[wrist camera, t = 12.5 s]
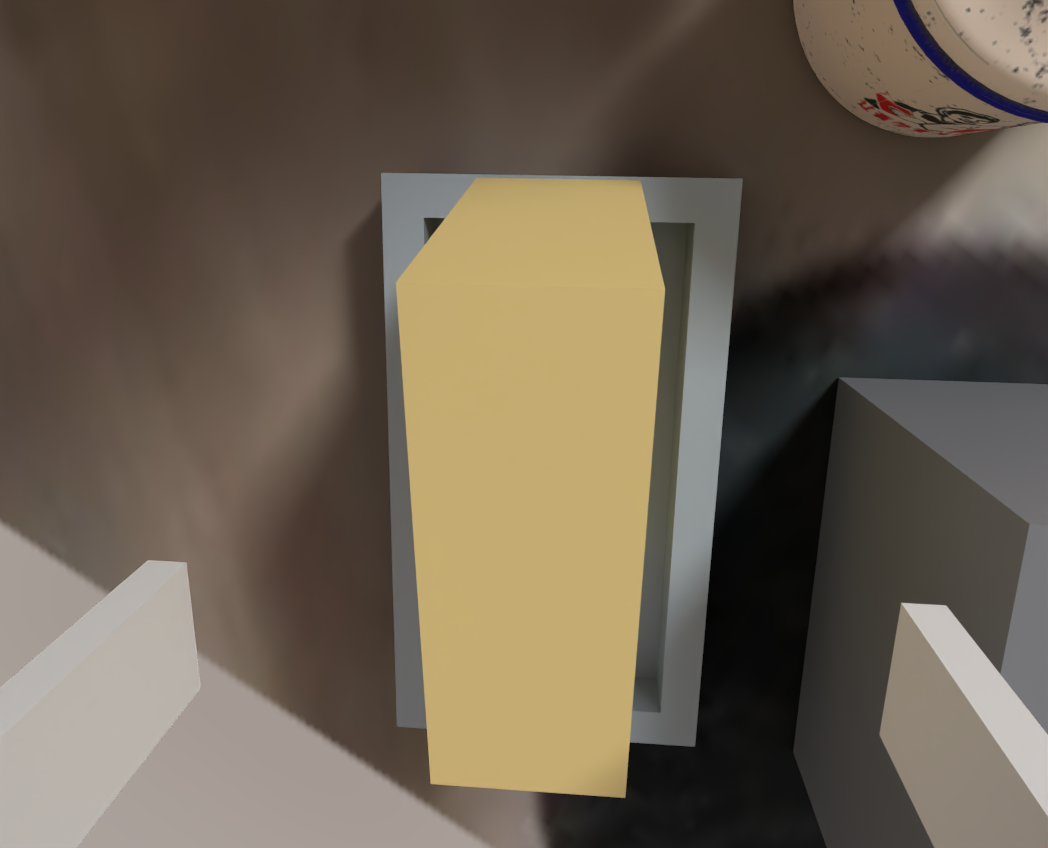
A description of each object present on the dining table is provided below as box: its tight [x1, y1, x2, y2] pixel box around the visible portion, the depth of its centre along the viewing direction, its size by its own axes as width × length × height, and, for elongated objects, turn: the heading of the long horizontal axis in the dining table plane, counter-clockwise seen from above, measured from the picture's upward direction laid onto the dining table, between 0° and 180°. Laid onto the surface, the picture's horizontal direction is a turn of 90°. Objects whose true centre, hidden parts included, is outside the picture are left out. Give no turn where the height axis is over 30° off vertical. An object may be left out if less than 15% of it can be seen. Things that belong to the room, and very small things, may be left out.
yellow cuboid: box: [396, 178, 665, 798], centre depth 21 cm, size 12×4×10 cm, turn 179°
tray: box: [381, 173, 743, 747], centre depth 27 cm, size 18×10×3 cm, turn 179°
